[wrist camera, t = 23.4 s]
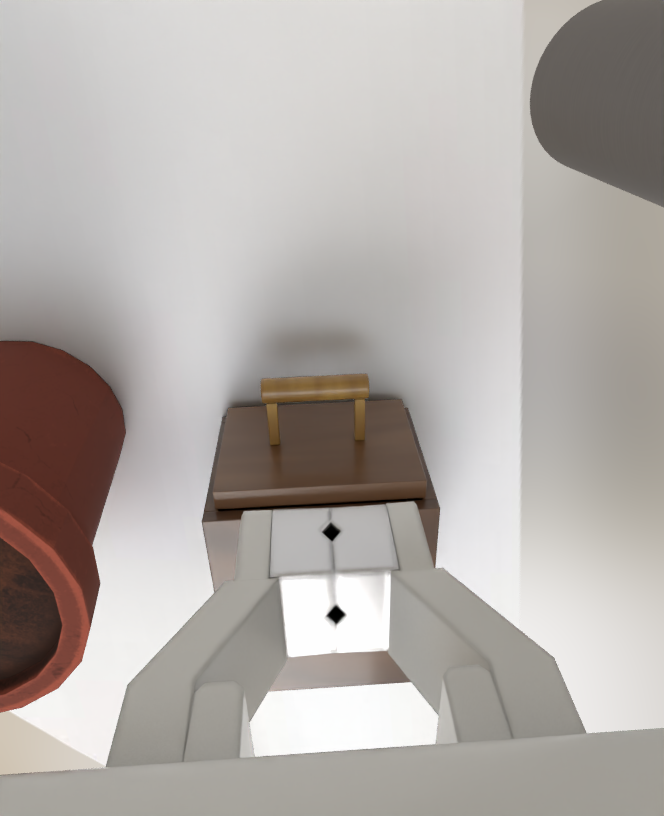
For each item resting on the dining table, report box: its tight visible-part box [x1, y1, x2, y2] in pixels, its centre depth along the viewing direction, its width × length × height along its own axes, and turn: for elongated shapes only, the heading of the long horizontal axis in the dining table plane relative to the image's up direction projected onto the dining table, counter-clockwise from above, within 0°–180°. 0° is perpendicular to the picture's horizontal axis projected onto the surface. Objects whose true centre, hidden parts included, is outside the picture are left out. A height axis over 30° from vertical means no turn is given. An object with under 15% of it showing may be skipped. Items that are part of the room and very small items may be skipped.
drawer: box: [212, 374, 427, 511], centre depth 38 cm, size 18×11×9 cm, turn 2°
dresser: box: [202, 408, 440, 691], centre depth 40 cm, size 15×13×11 cm
